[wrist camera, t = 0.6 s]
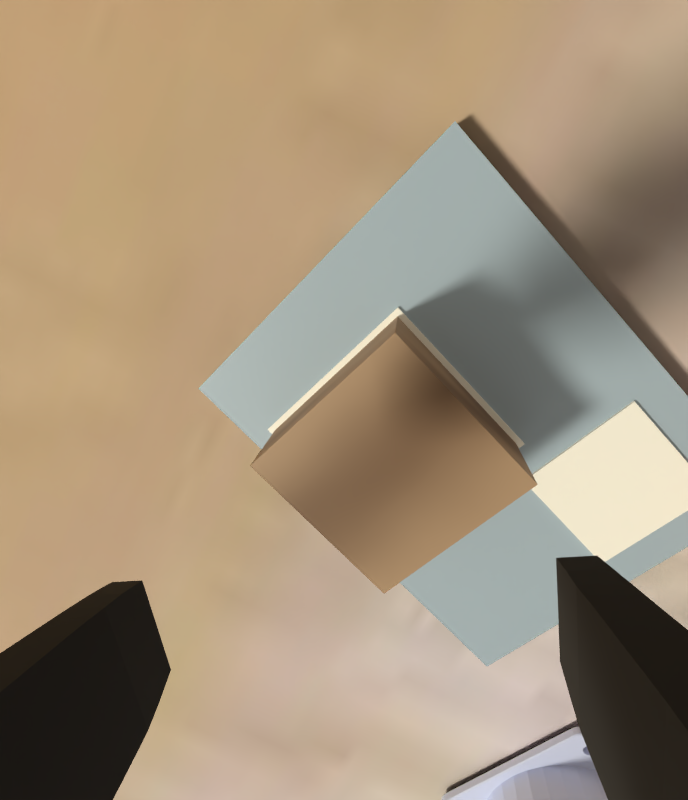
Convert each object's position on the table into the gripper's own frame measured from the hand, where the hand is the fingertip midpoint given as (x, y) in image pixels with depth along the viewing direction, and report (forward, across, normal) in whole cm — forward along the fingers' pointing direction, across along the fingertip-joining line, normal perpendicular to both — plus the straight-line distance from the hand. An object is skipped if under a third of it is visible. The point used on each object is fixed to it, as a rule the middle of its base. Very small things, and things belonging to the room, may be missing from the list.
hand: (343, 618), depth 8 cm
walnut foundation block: (+9, 0, 0) cm, 9 cm away
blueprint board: (+10, -3, +1) cm, 11 cm away
